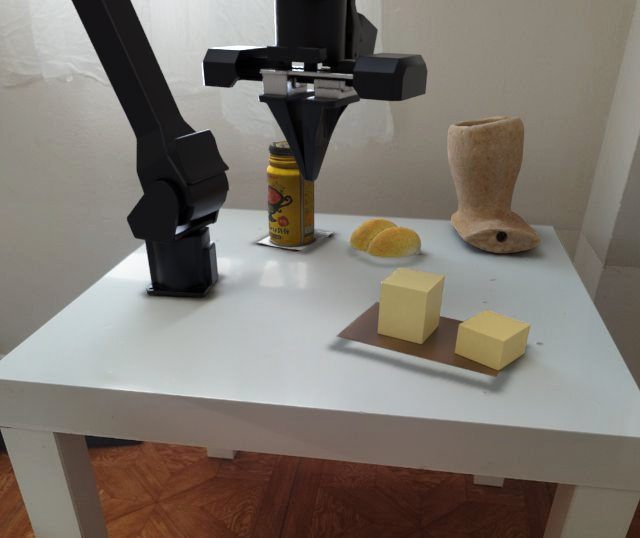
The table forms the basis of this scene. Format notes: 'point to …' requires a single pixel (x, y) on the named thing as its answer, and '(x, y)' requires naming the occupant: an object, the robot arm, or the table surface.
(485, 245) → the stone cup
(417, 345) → the board
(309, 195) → the condiment
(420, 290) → the butter block
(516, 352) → the butter pat
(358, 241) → the bread roll
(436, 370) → the table surface
